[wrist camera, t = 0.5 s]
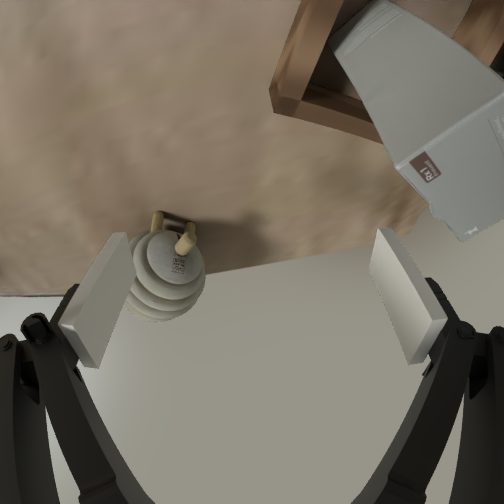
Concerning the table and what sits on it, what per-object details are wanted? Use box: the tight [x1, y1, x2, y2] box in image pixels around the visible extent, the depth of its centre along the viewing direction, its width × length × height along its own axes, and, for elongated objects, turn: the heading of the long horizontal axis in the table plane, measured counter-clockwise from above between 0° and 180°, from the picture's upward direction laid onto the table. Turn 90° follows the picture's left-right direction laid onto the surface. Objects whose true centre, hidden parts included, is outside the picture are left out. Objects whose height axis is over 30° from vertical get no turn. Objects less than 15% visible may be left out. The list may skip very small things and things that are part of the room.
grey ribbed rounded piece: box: [124, 211, 205, 322], centre depth 35 cm, size 11×17×11 cm, turn 152°
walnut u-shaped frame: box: [269, 0, 504, 145], centre depth 16 cm, size 18×14×4 cm
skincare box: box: [326, 0, 504, 242], centre depth 14 cm, size 8×7×16 cm
